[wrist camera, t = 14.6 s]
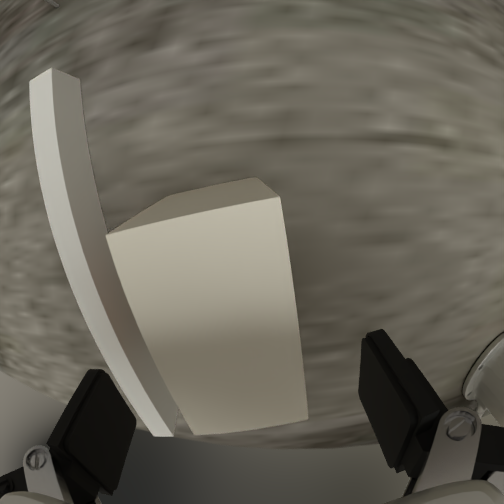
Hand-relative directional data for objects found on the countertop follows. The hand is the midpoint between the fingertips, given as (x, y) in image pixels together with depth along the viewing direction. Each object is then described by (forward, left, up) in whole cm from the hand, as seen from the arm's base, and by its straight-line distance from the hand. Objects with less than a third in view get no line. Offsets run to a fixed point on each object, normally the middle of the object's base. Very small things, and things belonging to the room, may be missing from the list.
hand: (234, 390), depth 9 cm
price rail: (+1, +10, -12) cm, 15 cm away
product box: (0, 0, -12) cm, 12 cm away
